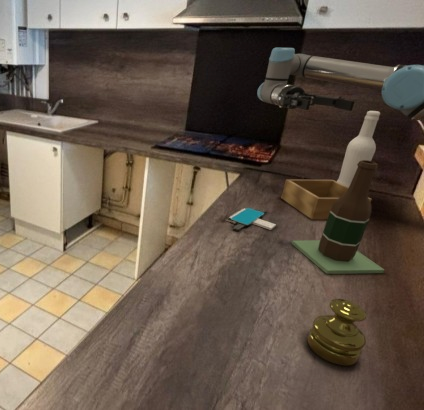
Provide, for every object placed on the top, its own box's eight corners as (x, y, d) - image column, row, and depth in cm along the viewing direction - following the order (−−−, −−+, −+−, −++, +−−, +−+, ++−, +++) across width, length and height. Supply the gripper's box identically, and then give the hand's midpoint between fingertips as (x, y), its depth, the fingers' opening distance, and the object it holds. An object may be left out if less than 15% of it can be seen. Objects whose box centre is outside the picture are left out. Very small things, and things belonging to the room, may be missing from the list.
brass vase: (346, 374, 57) (368, 326, 53) (298, 345, 63) (315, 299, 59) (364, 354, 61) (385, 307, 57) (317, 328, 67) (334, 283, 63)
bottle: (336, 198, 127) (365, 112, 115) (328, 190, 134) (354, 108, 122) (362, 201, 125) (394, 114, 113) (352, 192, 132) (381, 110, 120)
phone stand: (259, 239, 97) (260, 234, 97) (218, 224, 105) (219, 219, 104) (285, 218, 110) (287, 213, 109) (247, 206, 118) (248, 201, 117)
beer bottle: (352, 251, 91) (387, 160, 81) (355, 266, 85) (393, 169, 75) (317, 243, 94) (346, 155, 85) (317, 256, 88) (349, 163, 78)
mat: (383, 273, 84) (384, 269, 84) (326, 274, 83) (327, 270, 83) (340, 243, 97) (341, 240, 96) (291, 243, 96) (292, 240, 95)
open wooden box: (364, 219, 111) (372, 198, 108) (311, 219, 110) (318, 198, 107) (326, 198, 127) (333, 179, 124) (280, 198, 126) (286, 179, 123)
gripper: (319, 108, 128) (365, 119, 108) (251, 106, 126) (286, 117, 107) (325, 86, 125) (374, 93, 105) (256, 84, 123) (293, 91, 103)
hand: (330, 105), depth 106 cm, fingers open, 13 cm apart
